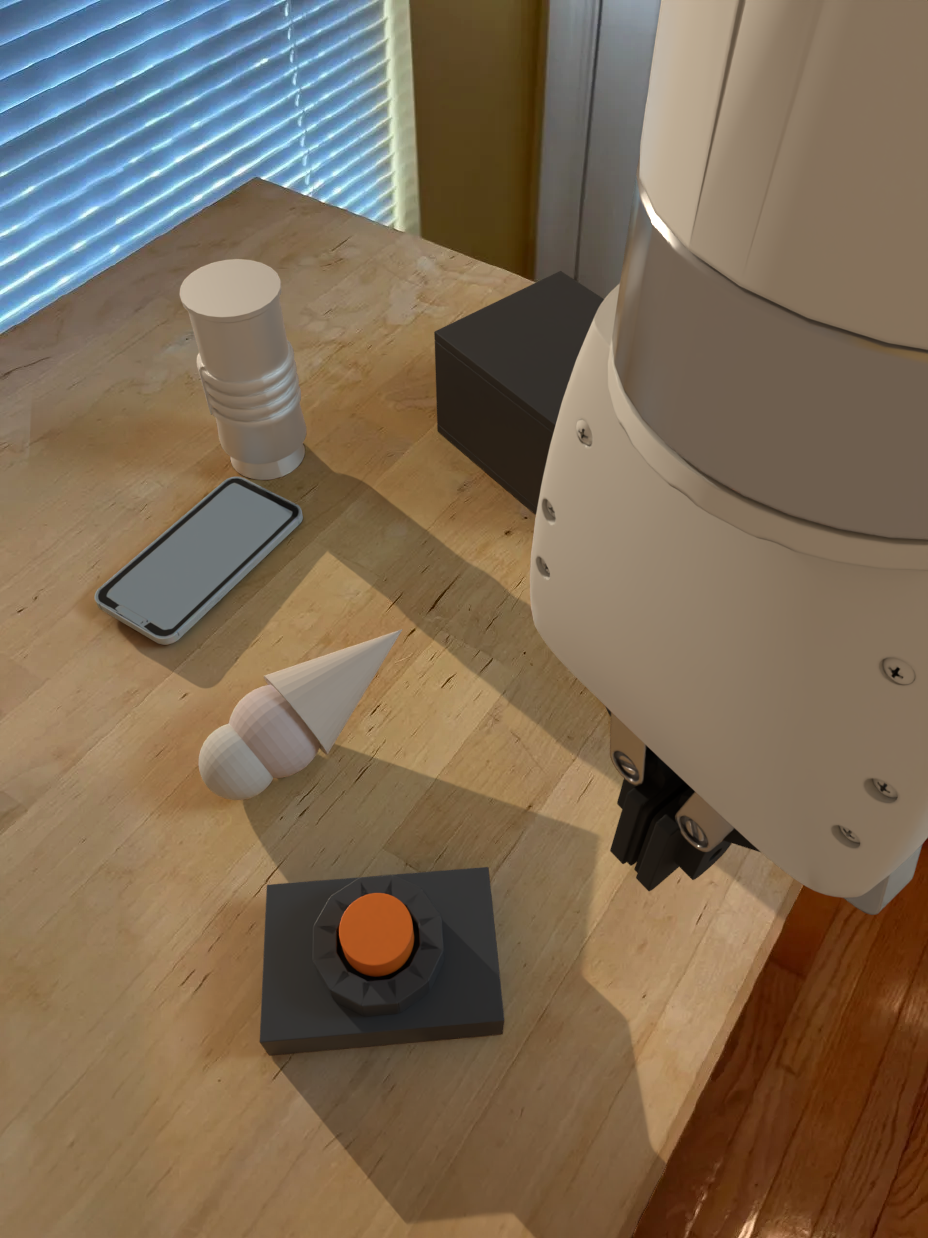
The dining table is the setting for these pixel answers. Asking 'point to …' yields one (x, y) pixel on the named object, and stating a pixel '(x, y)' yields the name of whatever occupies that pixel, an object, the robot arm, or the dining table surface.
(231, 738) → the ice cream cone
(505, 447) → the cabinet
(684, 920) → the dining table surface
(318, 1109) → the dining table surface
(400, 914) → the button
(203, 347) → the beige ribbed canister
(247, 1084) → the dining table surface
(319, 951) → the control block
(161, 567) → the smartphone
